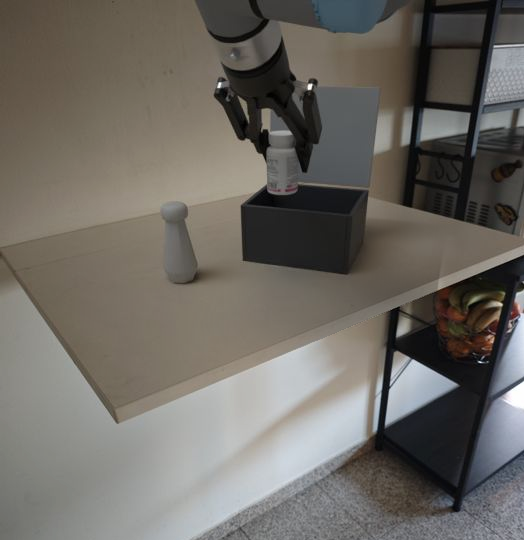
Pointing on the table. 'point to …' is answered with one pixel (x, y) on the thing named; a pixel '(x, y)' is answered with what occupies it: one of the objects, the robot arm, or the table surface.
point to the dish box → (305, 227)
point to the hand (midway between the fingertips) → (289, 163)
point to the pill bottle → (282, 163)
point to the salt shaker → (177, 244)
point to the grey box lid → (340, 136)
